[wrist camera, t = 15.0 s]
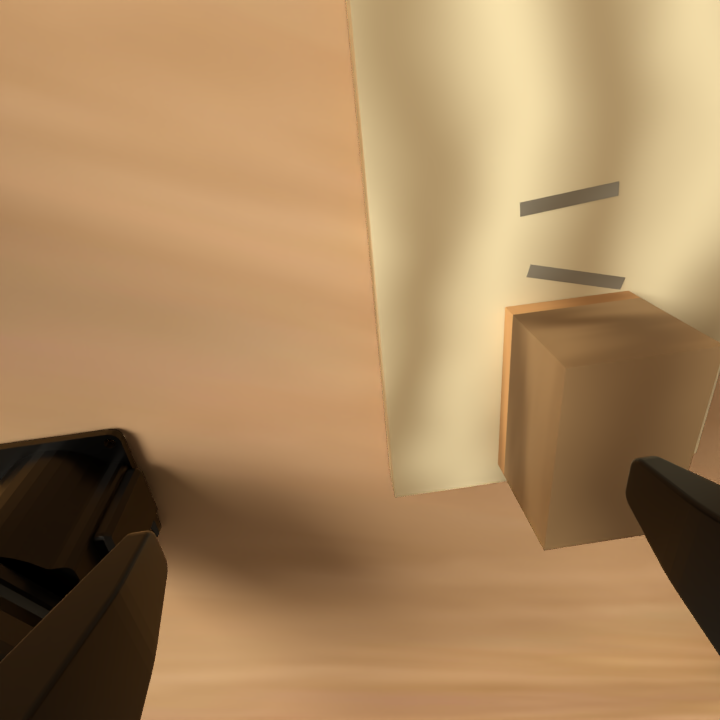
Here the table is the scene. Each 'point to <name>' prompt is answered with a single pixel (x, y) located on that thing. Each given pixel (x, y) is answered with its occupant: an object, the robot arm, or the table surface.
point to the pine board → (524, 191)
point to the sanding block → (596, 408)
